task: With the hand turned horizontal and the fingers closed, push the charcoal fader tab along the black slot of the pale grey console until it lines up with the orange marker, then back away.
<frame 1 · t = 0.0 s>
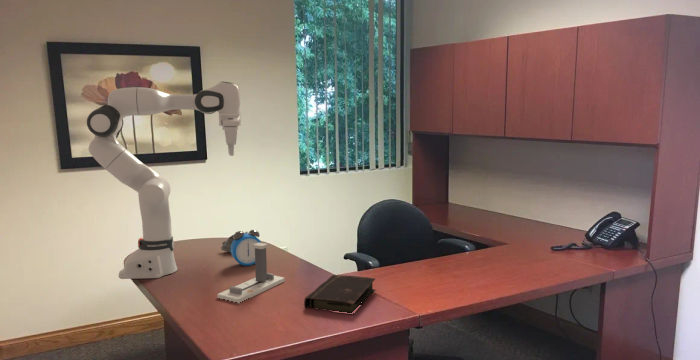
hand: (231, 154, 207), 48 cm above the table, tool pointing down, fingers open, 8 cm apart
console: (252, 289, 185), on the table
alarm clock: (247, 264, 215), on the table
fader tab: (260, 262, 188), point 9 cm above the table, slide at 0.0 cm
diary: (342, 300, 175), on the table
mineral rock: (238, 251, 236), on the table
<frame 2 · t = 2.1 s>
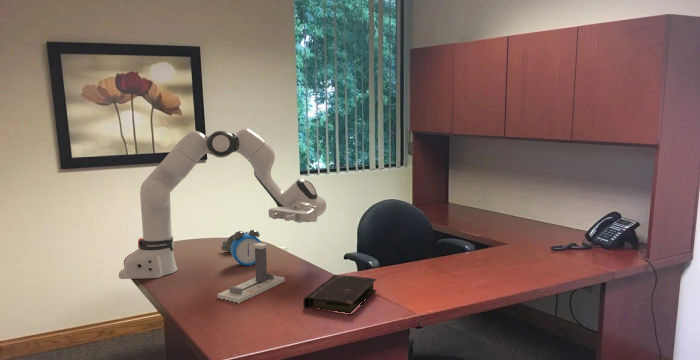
hand: (279, 217, 196), 24 cm above the table, tool horizontal, fingers open, 5 cm apart
nothing on the table moved.
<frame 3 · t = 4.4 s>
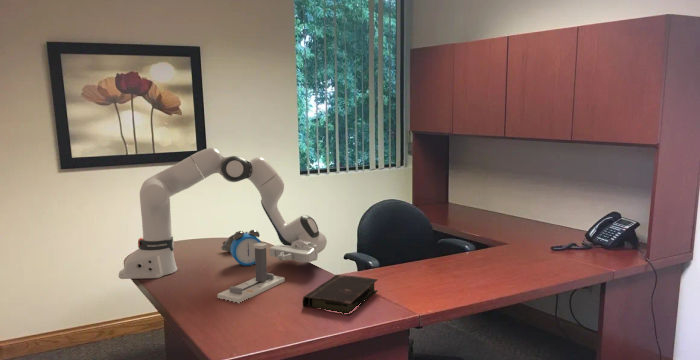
hand: (280, 258, 198), 8 cm above the table, tool horizontal, fingers closed
nothing on the table moved.
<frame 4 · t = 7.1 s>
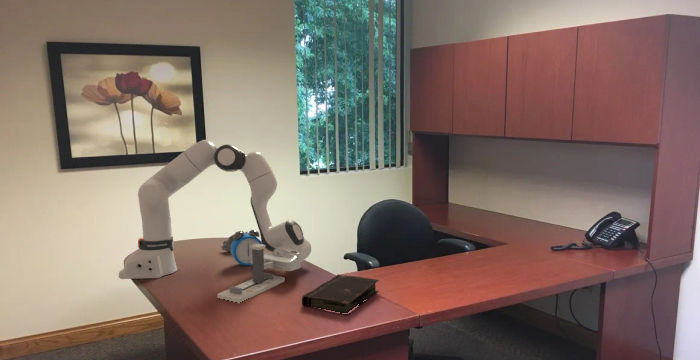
hand: (260, 266, 188), 7 cm above the table, tool horizontal, fingers closed, pressing on fader tab
fader tab: (258, 263, 186), point 9 cm above the table, slide at 1.5 cm, touching gripper
everything else where it was.
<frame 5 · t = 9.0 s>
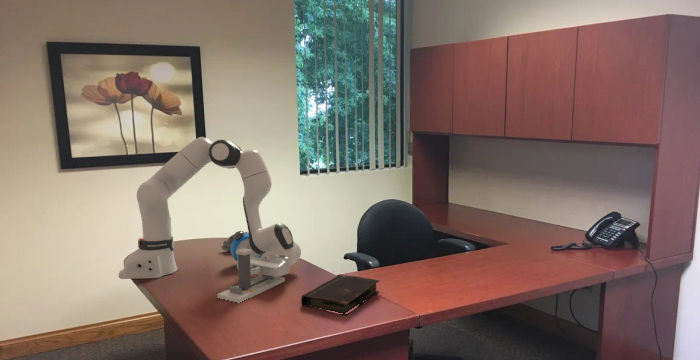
hand: (247, 272, 181), 7 cm above the table, tool horizontal, fingers closed
fader tab: (244, 269, 180), point 9 cm above the table, slide at 9.2 cm, touching gripper
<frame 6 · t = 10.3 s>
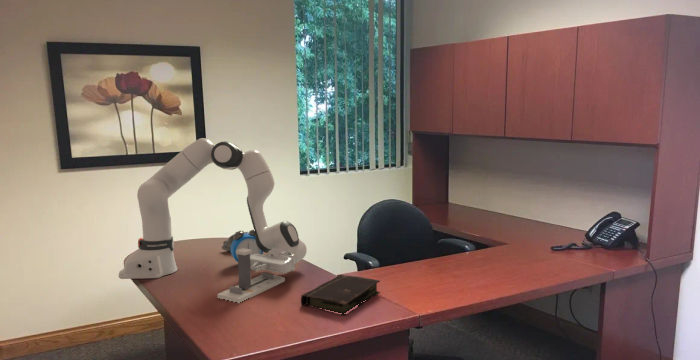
hand: (254, 268, 184), 8 cm above the table, tool horizontal, fingers closed
fader tab: (244, 269, 180), point 9 cm above the table, slide at 9.2 cm
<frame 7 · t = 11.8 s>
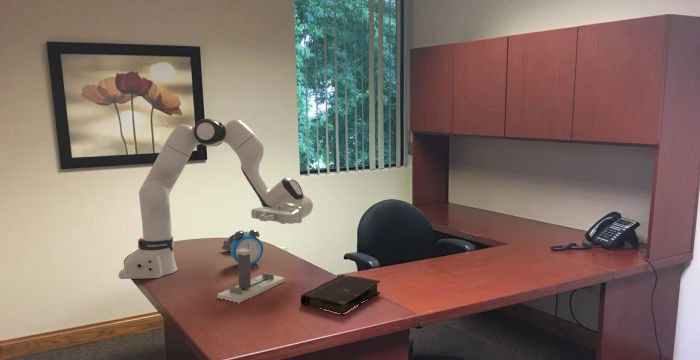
hand: (262, 218, 187), 26 cm above the table, tool horizontal, fingers closed
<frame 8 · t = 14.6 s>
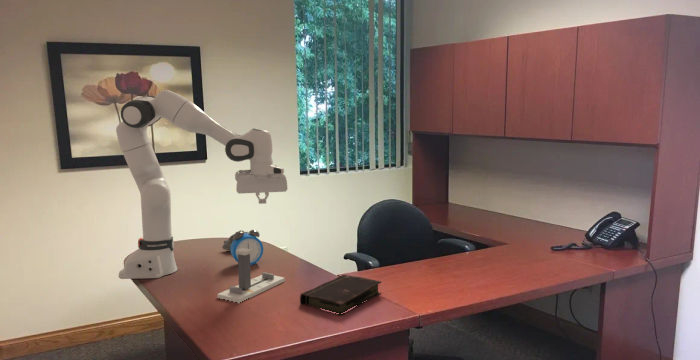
hand: (262, 203, 200), 29 cm above the table, tool pointing down, fingers closed
at the end: fader tab slide at 9.2 cm; the gripper is holding nothing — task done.
